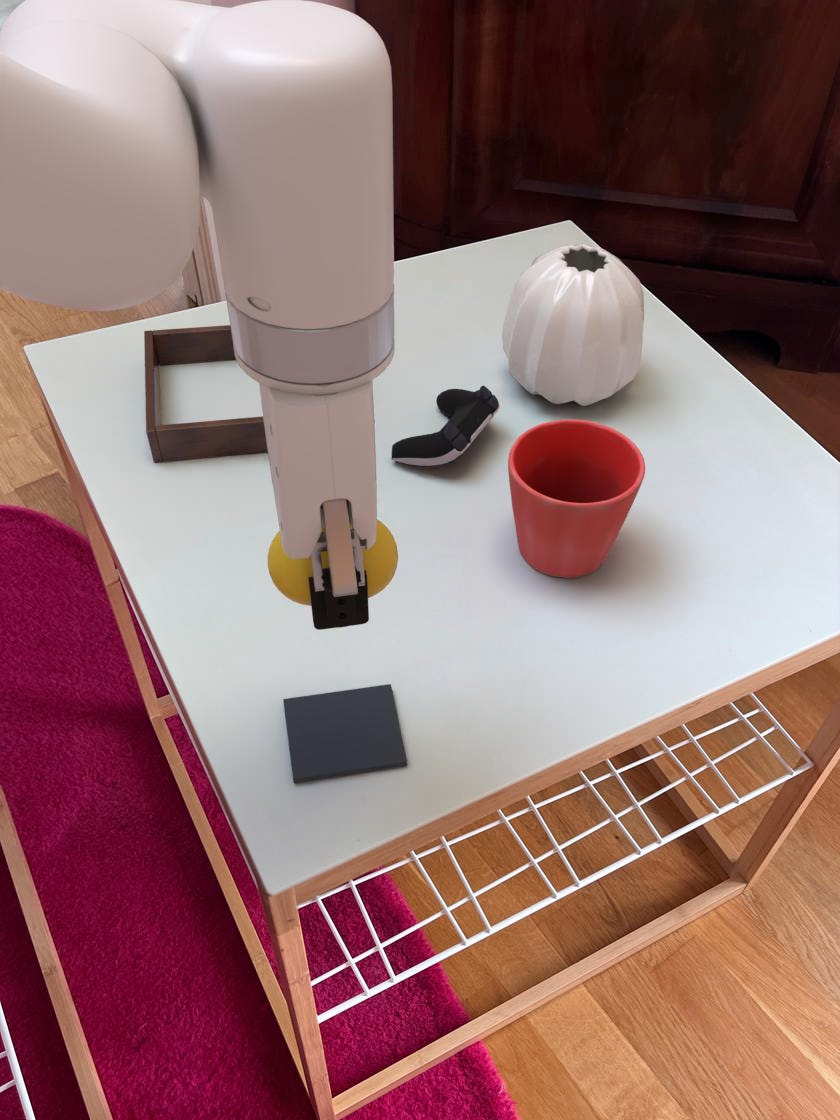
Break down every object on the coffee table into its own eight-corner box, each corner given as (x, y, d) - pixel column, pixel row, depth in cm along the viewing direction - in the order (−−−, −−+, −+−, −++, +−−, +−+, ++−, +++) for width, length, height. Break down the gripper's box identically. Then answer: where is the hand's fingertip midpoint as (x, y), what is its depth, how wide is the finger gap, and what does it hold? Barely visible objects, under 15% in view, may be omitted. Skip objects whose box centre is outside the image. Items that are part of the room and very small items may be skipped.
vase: (541, 327, 106) (556, 206, 96) (656, 374, 102) (685, 253, 92) (472, 388, 98) (481, 264, 88) (593, 442, 94) (618, 318, 84)
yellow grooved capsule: (276, 629, 57) (267, 567, 53) (268, 565, 60) (258, 503, 56) (405, 612, 59) (405, 551, 55) (390, 551, 62) (389, 489, 58)
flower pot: (488, 509, 87) (497, 420, 80) (607, 501, 89) (626, 413, 81) (510, 597, 81) (522, 509, 73) (638, 586, 82) (662, 500, 75)
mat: (293, 784, 68) (293, 779, 68) (283, 703, 72) (283, 698, 72) (407, 766, 70) (407, 761, 69) (390, 688, 74) (390, 683, 73)
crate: (153, 462, 88) (145, 431, 86) (150, 361, 98) (144, 330, 95) (348, 444, 92) (347, 414, 89) (327, 348, 101) (325, 318, 98)
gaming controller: (412, 490, 91) (462, 468, 86) (382, 452, 90) (432, 428, 85) (464, 427, 98) (514, 403, 93) (438, 390, 96) (487, 364, 91)
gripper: (218, 231, 50) (259, 498, 64) (244, 446, 39) (286, 709, 53) (365, 223, 51) (373, 486, 65) (428, 428, 41) (421, 689, 55)
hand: (334, 584), depth 59 cm, fingers closed on yellow grooved capsule, 5 cm apart
